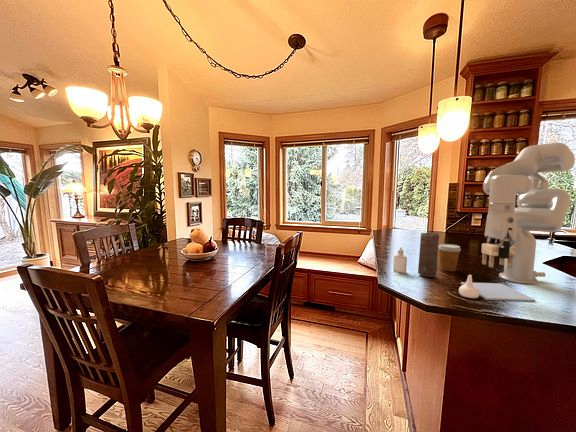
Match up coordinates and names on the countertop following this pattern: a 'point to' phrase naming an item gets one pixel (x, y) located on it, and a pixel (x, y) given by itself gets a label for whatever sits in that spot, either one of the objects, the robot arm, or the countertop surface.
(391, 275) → the countertop surface
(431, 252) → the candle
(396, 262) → the eye dropper bottle
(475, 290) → the garlic bulb
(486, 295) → the felt mat
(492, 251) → the beech stool
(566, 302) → the countertop surface
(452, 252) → the disposable coffee cup
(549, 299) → the countertop surface
